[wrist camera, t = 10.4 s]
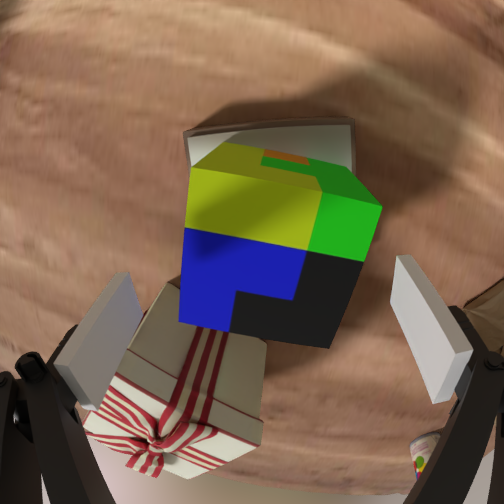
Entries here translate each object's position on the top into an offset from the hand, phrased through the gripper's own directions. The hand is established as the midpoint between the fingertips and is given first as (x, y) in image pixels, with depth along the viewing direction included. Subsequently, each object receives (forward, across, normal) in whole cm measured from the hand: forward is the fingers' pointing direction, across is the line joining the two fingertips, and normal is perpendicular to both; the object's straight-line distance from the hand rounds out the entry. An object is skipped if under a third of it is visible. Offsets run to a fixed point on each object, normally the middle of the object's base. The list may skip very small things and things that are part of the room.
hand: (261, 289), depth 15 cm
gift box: (+17, -13, -19) cm, 29 cm away
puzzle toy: (+13, +1, -1) cm, 13 cm away
